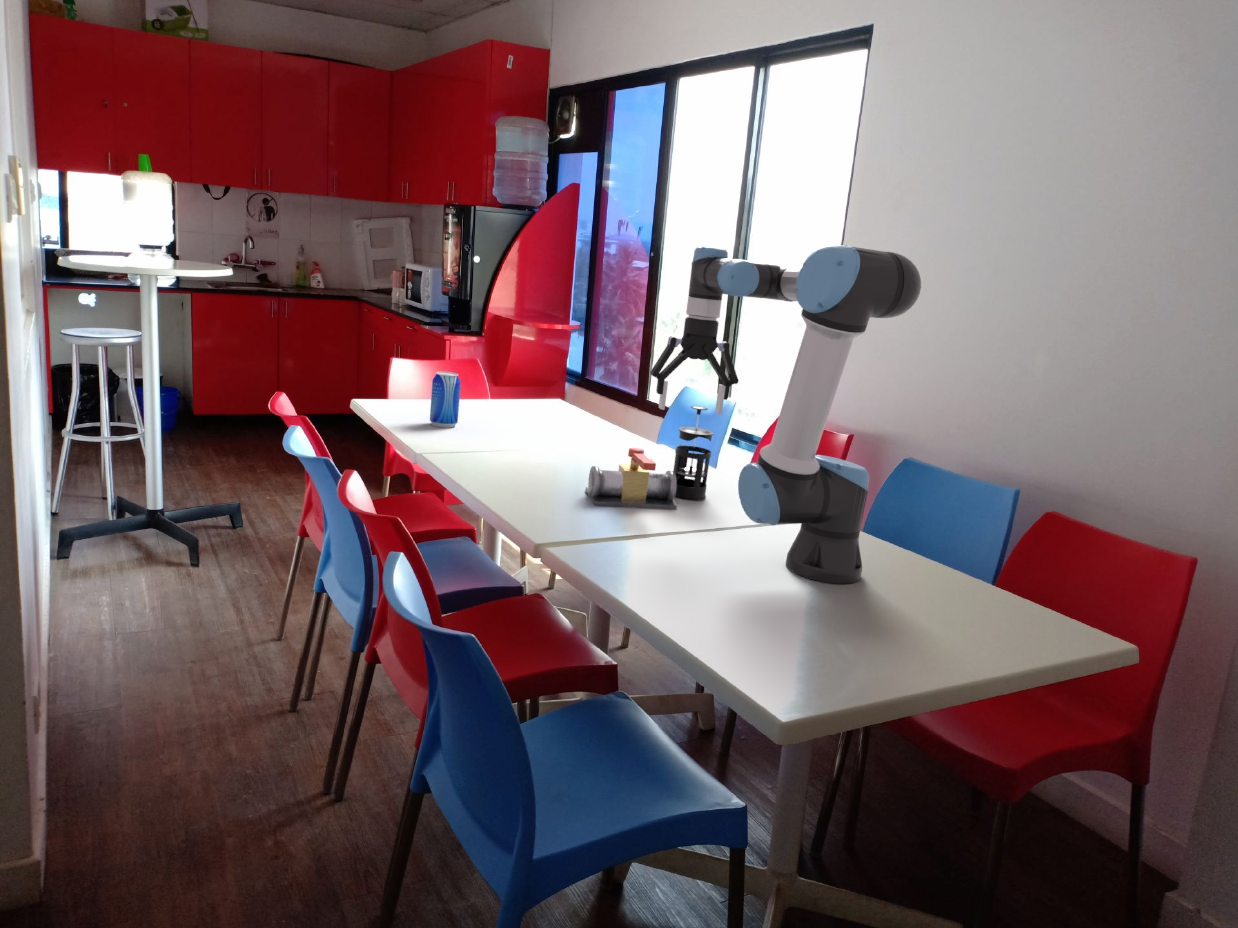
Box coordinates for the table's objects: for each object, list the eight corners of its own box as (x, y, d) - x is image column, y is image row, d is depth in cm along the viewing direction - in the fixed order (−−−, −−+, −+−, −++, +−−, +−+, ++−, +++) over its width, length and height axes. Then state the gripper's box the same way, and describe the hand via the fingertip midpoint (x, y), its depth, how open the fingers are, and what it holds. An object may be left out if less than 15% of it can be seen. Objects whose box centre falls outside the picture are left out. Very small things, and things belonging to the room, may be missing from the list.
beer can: (426, 422, 285) (430, 370, 281) (453, 422, 289) (457, 371, 285) (433, 428, 278) (436, 375, 274) (460, 428, 281) (464, 376, 278)
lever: (626, 454, 223) (627, 447, 222) (641, 455, 224) (641, 448, 223) (641, 469, 209) (642, 462, 208) (656, 470, 210) (657, 463, 209)
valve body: (663, 495, 232) (668, 455, 230) (676, 509, 221) (682, 467, 218) (585, 491, 227) (589, 449, 225) (594, 505, 216) (599, 461, 214)
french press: (713, 501, 232) (726, 411, 227) (679, 501, 228) (692, 410, 223) (692, 488, 243) (704, 402, 237) (660, 488, 239) (671, 400, 234)
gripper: (749, 321, 214) (736, 412, 218) (644, 311, 208) (633, 403, 213) (760, 324, 207) (746, 418, 211) (652, 313, 201) (640, 409, 206)
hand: (690, 411), depth 212 cm, fingers open, 13 cm apart
